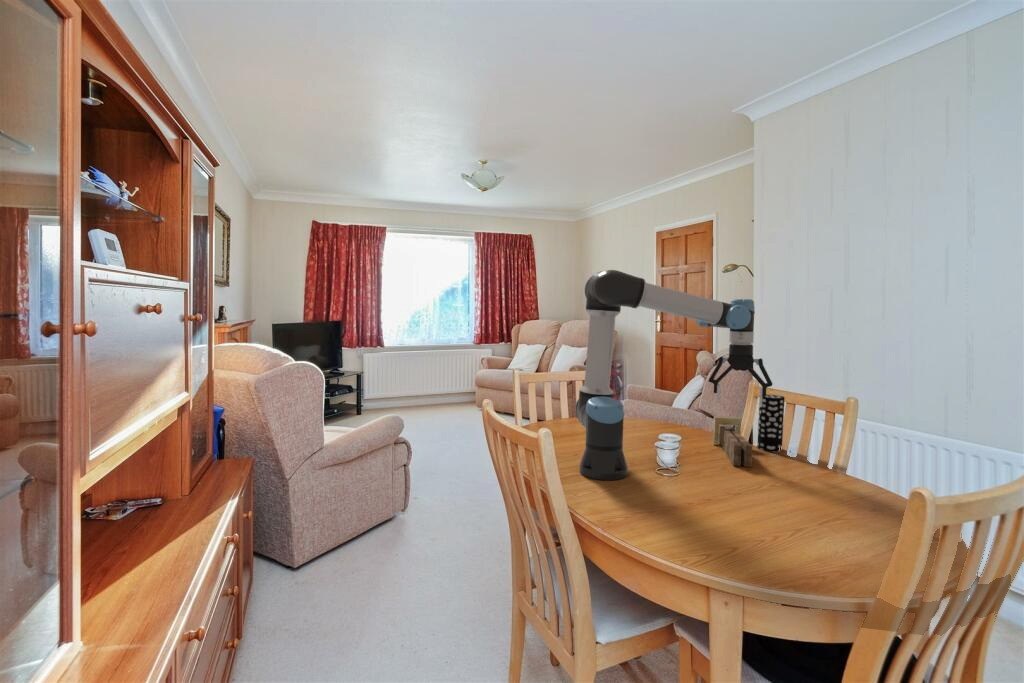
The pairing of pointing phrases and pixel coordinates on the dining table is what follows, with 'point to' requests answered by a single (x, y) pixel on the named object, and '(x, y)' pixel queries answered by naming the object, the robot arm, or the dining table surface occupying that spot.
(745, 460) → the jaw
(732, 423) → the lock cuff
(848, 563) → the dining table surface
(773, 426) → the white-spotted black cylinder
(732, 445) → the jaw
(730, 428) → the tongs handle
